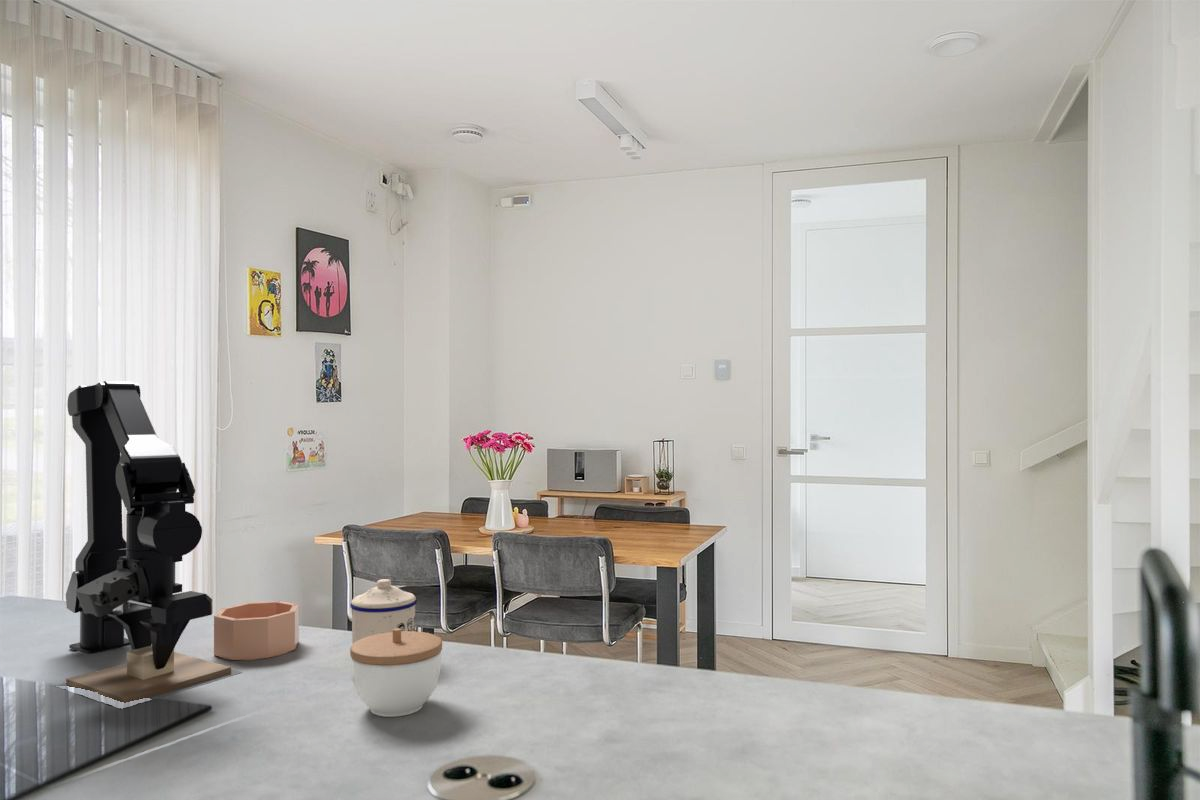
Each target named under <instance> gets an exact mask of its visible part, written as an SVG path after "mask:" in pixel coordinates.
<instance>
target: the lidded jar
mask: <svg viewBox="0 0 1200 800" xmlns="http://www.w3.org/2000/svg"><path fill="white" fill-rule="evenodd" d="M442 650H443V640H442V638H441V637H439V636H438V635H437V634H434V633H429V632H425V631H424V632H422V631H416V630H415V631H401V629H400V628H396V629H393V632H388V633H381V634H376V635H372V636H368V637H365V638H362V639H360V640H358V641H356V642H354V643H353V644H352V643H351V646H350V648H349V653H350V655H349V656H350V660H351V661H350V663H351V664H350V665H351V666H350V667H351V676H352V683H353V687H354V689H355V693H356V695H357V696H358V698H359V700H360V701H361V702H362V703H363V705H365V706H366V707H367V708H369V709H370V712H371V714H372V715H375V716H378V717H383V718H397V717H405V716H410V715H412V714H416V713H418V712H419V711H421V709H422V708H423V706H424V704H425V703H426V702H427V701H428V700H429V698H431V696H432V695H433V693H434V691H435V690H436V688H437V685H438V683H439V679H440V674H441V667H442Z"/></svg>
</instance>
